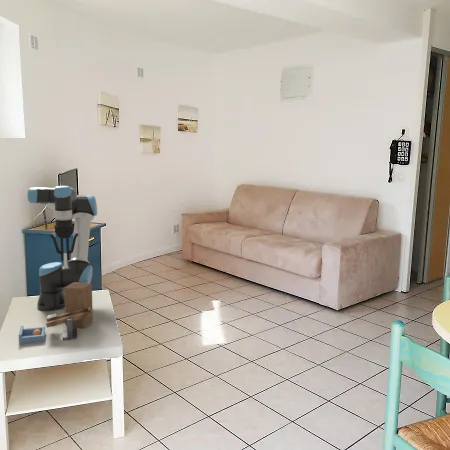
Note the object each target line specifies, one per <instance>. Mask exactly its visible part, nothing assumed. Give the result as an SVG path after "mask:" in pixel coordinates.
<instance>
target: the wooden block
mask: <svg viewBox="0 0 450 450" xmlns="http://www.w3.org/2000/svg"><path fill="white" fill-rule="evenodd" d="M63 292H64V298H65V307H64V314H66V313H67V312H73V311H77V310H81V309H85V308H88V305H90V307H91V311H92V316H90V317H86V318H83V319H79V320H75V321H72V322H73V328H78V329H85V328H86V327H88V326H89V325H90V324H91V323H92V322H93V320H94V315H93V314H94V313H93V312H94V311H93V310H94V309H93V285H92V283H91V282H90V283H81V282H73V283H71V284H70V285H68V286H66V287H65V288H63ZM65 327H67V323H65Z"/></svg>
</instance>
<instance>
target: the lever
mask: <svg viewBox="0 0 450 450" xmlns="http://www.w3.org/2000/svg"><path fill="white" fill-rule="evenodd" d="M90 316H92V311H91V307H90V305H88V308H85V309H81V310H77V311H73V312H69V313H66V314H65V313H63V314H62V313H61V314H58V315H57V313H52V314H49V315H47V316H46V322H45V327H46V328H47V329H48V328H52V327H54V326H55V327H56V326H59V325H62V324H66V323H67V319H72V321H75V320H79V319H83V318H86V317H90Z"/></svg>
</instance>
